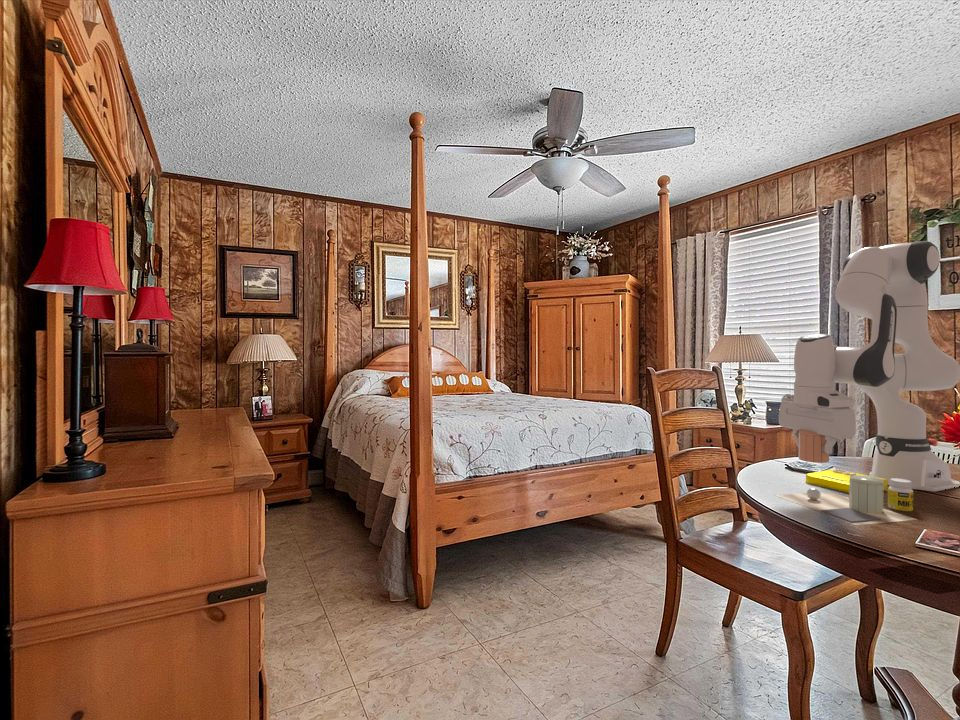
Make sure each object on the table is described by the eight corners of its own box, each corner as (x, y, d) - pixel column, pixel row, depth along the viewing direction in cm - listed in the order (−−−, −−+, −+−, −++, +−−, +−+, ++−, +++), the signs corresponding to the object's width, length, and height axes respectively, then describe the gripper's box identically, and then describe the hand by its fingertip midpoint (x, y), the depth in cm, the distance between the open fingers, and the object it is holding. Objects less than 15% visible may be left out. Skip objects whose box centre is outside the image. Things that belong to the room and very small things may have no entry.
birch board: (828, 496, 135) (828, 491, 135) (917, 526, 113) (917, 519, 113) (775, 500, 132) (775, 495, 132) (856, 531, 109) (856, 525, 109)
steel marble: (813, 497, 130) (813, 486, 129) (823, 501, 127) (823, 489, 127) (803, 498, 129) (803, 487, 129) (813, 502, 126) (813, 490, 126)
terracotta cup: (813, 456, 132) (813, 428, 131) (835, 461, 125) (835, 432, 125) (793, 457, 130) (793, 429, 130) (813, 463, 124) (813, 434, 124)
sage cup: (864, 504, 124) (864, 474, 124) (889, 512, 118) (890, 481, 117) (843, 506, 123) (843, 476, 122) (867, 514, 116) (868, 482, 116)
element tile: (802, 488, 145) (802, 472, 145) (834, 482, 151) (834, 466, 151) (858, 502, 131) (858, 484, 131) (891, 495, 137) (891, 478, 137)
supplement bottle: (897, 517, 119) (898, 482, 118) (882, 510, 123) (882, 477, 123) (918, 517, 118) (918, 482, 118) (902, 510, 123) (902, 477, 123)
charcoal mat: (848, 509, 120) (848, 507, 120) (880, 520, 112) (880, 518, 112) (820, 511, 119) (820, 510, 119) (851, 522, 111) (851, 521, 111)
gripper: (772, 393, 137) (772, 442, 137) (838, 401, 117) (838, 459, 117) (792, 392, 138) (791, 441, 139) (861, 400, 118) (860, 457, 119)
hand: (813, 449), depth 128 cm, fingers closed on terracotta cup, 6 cm apart
